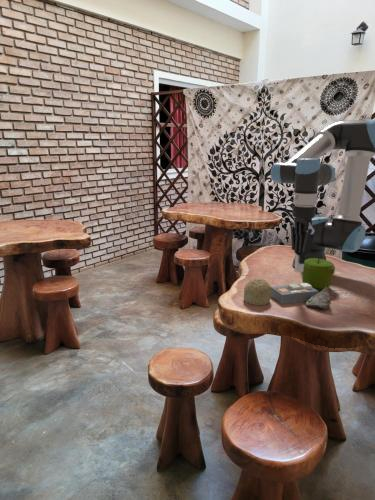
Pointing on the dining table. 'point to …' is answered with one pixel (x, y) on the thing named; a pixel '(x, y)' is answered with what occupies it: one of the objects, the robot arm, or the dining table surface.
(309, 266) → the apple
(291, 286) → the key
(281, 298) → the keypad
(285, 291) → the key
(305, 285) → the key
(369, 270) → the dining table surface
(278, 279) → the dining table surface
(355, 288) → the dining table surface
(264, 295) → the decorative object
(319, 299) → the rock sample
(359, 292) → the dining table surface
